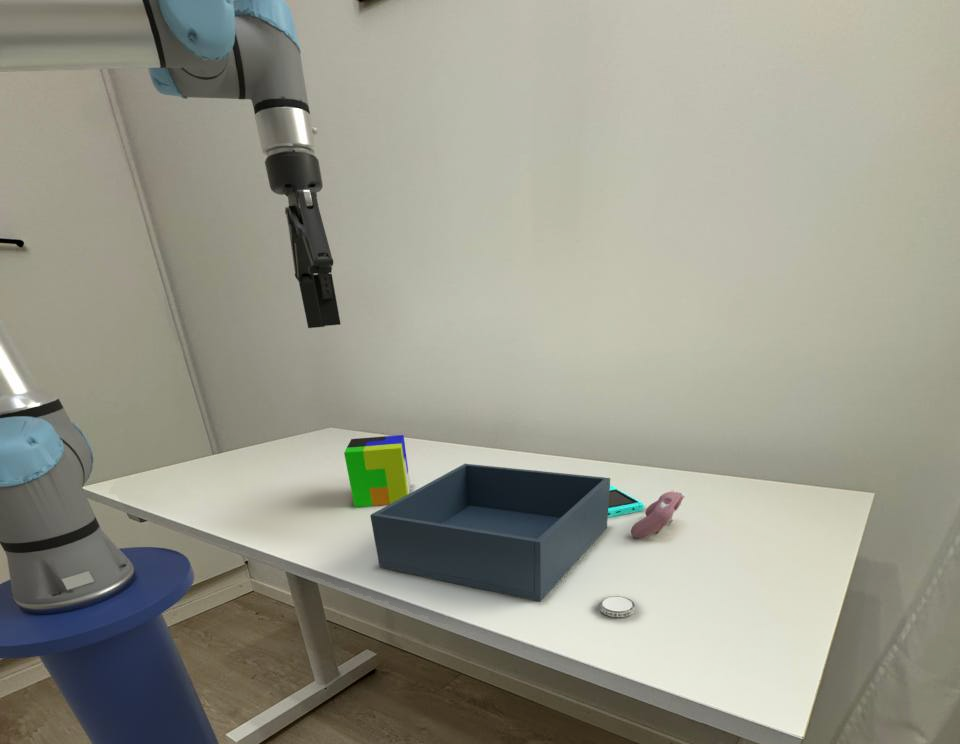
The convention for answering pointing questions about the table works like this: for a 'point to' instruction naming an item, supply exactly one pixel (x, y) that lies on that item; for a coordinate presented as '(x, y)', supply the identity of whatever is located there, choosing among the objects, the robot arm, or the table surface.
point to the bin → (494, 528)
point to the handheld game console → (622, 503)
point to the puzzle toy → (377, 470)
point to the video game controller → (657, 515)
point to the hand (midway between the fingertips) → (323, 326)
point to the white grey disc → (617, 606)
